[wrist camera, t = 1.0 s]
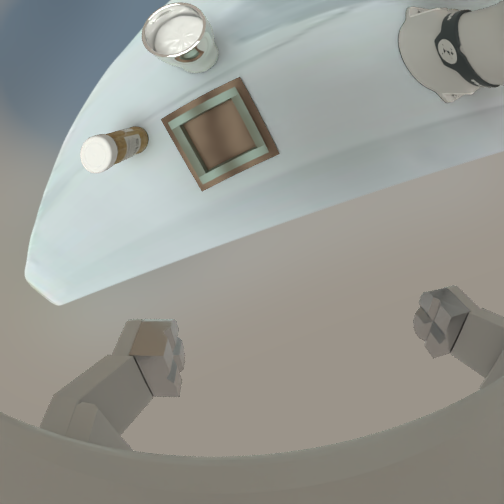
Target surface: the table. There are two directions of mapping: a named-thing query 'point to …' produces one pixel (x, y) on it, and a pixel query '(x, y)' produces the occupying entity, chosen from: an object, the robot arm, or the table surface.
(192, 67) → the beer glass
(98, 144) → the sprinkles bottle
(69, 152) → the table surface
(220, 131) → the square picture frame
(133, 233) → the table surface
